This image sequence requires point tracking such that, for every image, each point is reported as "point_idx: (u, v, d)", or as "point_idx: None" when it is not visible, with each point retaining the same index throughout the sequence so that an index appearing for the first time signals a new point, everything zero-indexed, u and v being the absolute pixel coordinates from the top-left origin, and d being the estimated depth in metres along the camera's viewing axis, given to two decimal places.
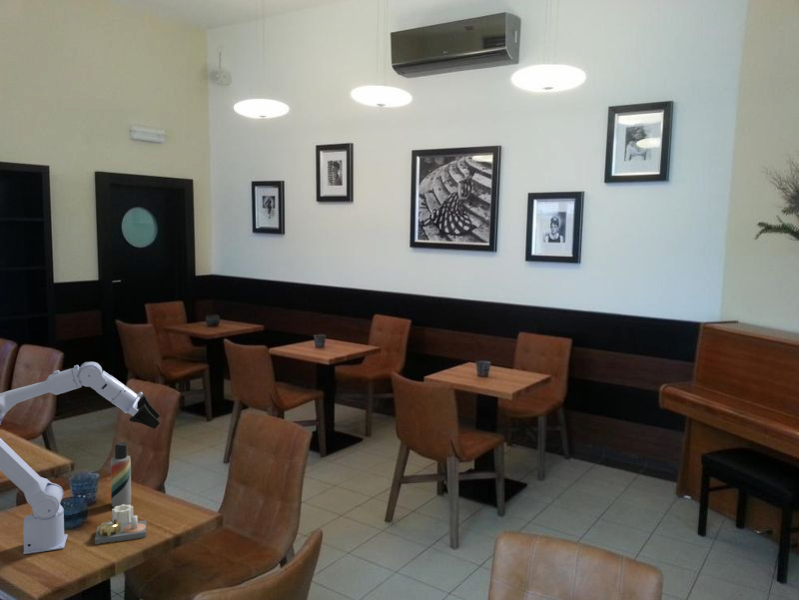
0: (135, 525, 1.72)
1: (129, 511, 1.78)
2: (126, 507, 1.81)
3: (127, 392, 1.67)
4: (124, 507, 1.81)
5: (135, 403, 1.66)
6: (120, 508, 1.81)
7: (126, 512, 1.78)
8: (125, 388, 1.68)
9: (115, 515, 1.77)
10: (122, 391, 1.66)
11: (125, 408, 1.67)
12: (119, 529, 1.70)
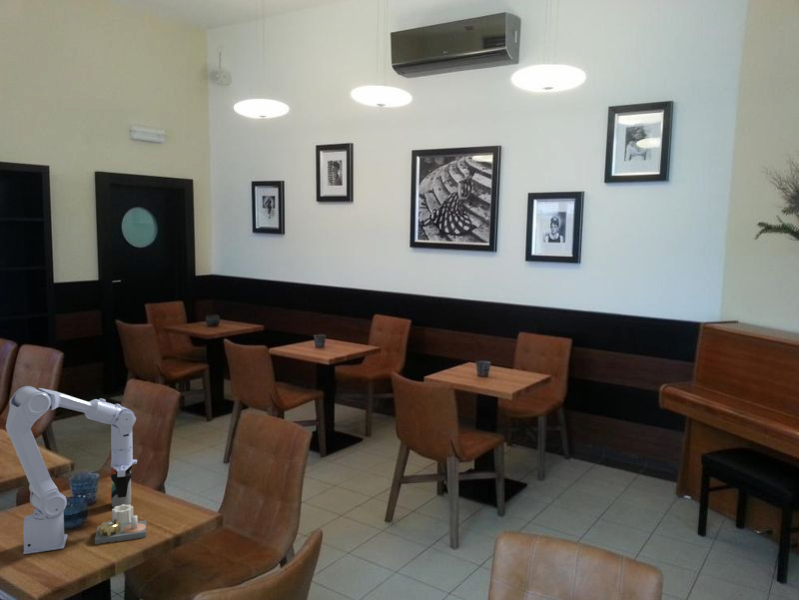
0: (135, 525, 1.72)
1: (129, 511, 1.78)
2: (126, 507, 1.81)
3: (129, 453, 1.77)
4: (124, 507, 1.81)
5: (127, 467, 1.75)
6: (120, 508, 1.81)
7: (126, 512, 1.78)
8: (131, 449, 1.78)
9: (115, 515, 1.77)
10: (127, 450, 1.76)
11: (116, 463, 1.76)
12: (119, 529, 1.70)
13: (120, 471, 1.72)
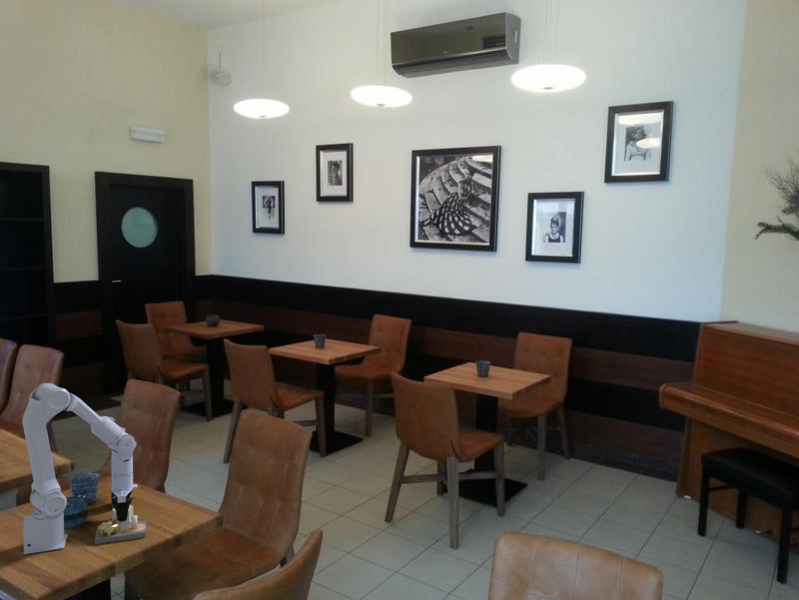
0: (135, 525, 1.72)
1: (129, 511, 1.78)
2: None
3: (130, 478, 1.78)
4: None
5: (127, 493, 1.75)
6: None
7: None
8: (131, 474, 1.78)
9: (115, 515, 1.77)
10: (128, 475, 1.77)
11: (116, 489, 1.76)
12: (119, 529, 1.70)
13: (120, 497, 1.72)
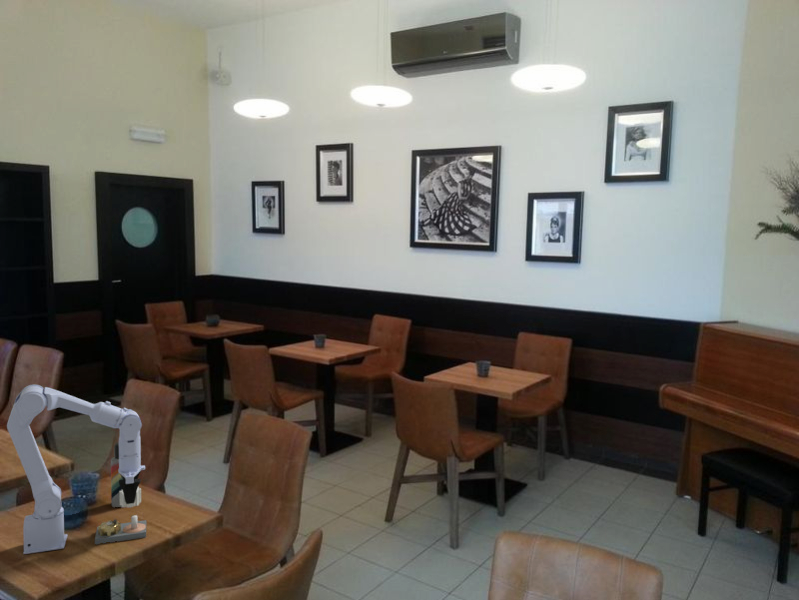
0: (135, 525, 1.72)
1: (137, 493, 1.73)
2: None
3: (138, 459, 1.72)
4: None
5: (135, 474, 1.70)
6: None
7: None
8: (139, 455, 1.73)
9: (123, 497, 1.71)
10: (135, 455, 1.72)
11: (124, 470, 1.71)
12: (119, 529, 1.70)
13: (128, 478, 1.67)
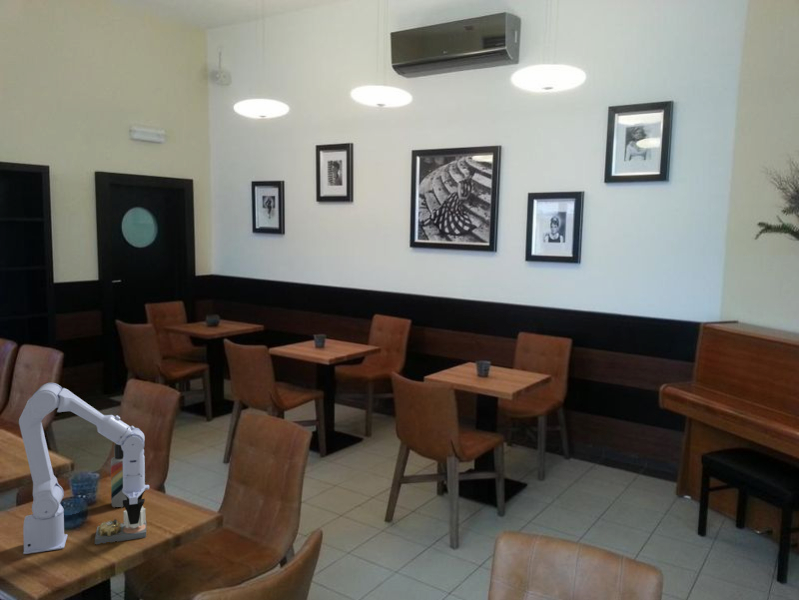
0: None
1: (141, 513, 1.71)
2: None
3: (142, 478, 1.70)
4: None
5: (139, 494, 1.68)
6: None
7: None
8: (143, 474, 1.71)
9: (127, 517, 1.69)
10: (139, 475, 1.69)
11: (127, 490, 1.68)
12: (119, 529, 1.70)
13: (132, 498, 1.65)
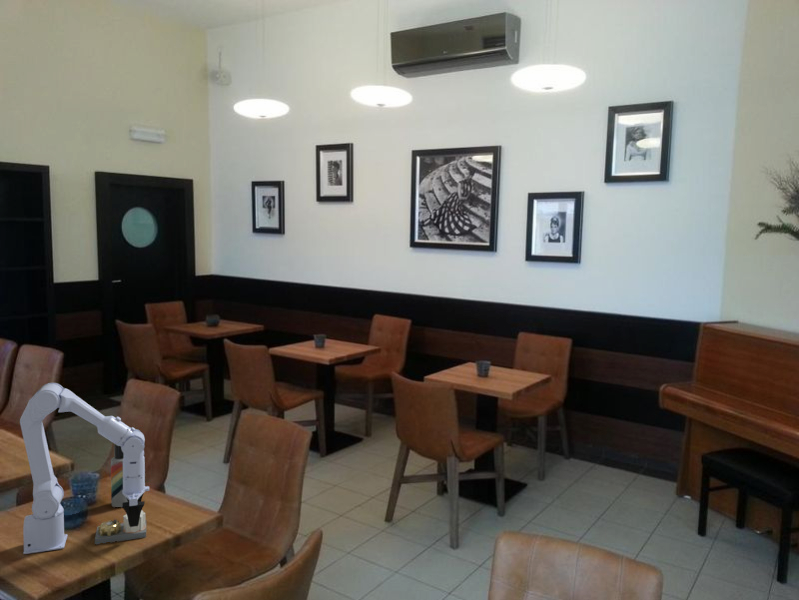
0: None
1: (141, 517, 1.71)
2: None
3: (142, 480, 1.70)
4: None
5: (139, 495, 1.68)
6: None
7: None
8: (143, 476, 1.71)
9: (127, 522, 1.69)
10: (140, 477, 1.69)
11: (127, 491, 1.68)
12: (119, 529, 1.70)
13: (132, 500, 1.65)
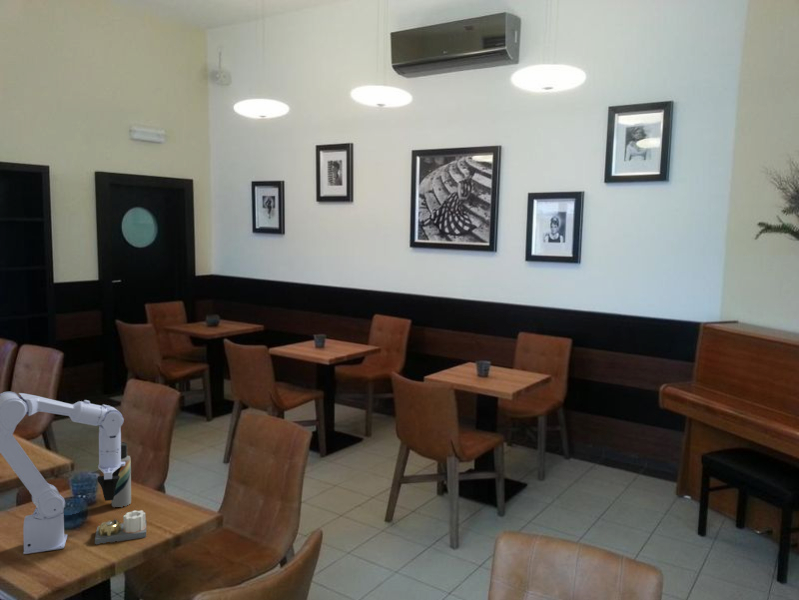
0: None
1: (141, 517, 1.71)
2: (138, 513, 1.74)
3: (117, 455, 1.72)
4: (136, 513, 1.74)
5: (114, 470, 1.70)
6: (131, 514, 1.73)
7: (138, 519, 1.70)
8: (119, 451, 1.73)
9: (127, 522, 1.69)
10: (115, 451, 1.72)
11: (103, 465, 1.71)
12: (119, 529, 1.70)
13: (107, 473, 1.67)
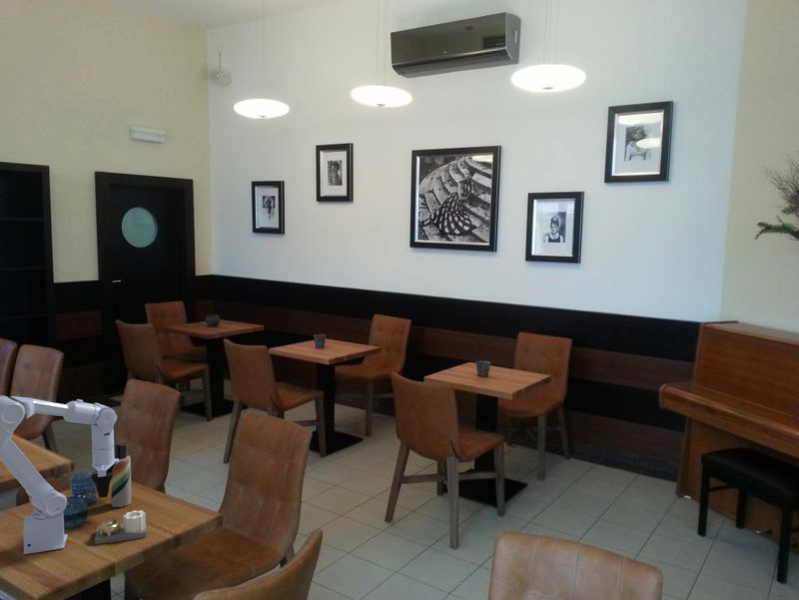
0: None
1: (141, 517, 1.71)
2: (138, 513, 1.74)
3: (111, 452, 1.73)
4: (136, 513, 1.74)
5: (108, 467, 1.71)
6: (131, 514, 1.73)
7: (138, 519, 1.70)
8: (112, 448, 1.74)
9: (127, 522, 1.69)
10: (108, 449, 1.73)
11: (97, 463, 1.72)
12: (119, 529, 1.70)
13: (101, 471, 1.68)
